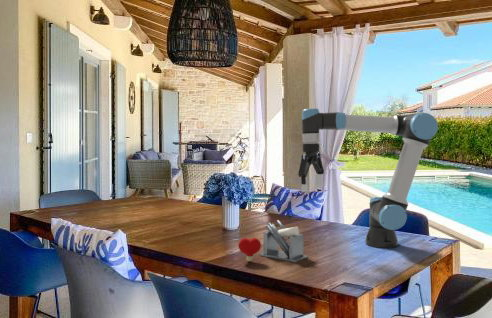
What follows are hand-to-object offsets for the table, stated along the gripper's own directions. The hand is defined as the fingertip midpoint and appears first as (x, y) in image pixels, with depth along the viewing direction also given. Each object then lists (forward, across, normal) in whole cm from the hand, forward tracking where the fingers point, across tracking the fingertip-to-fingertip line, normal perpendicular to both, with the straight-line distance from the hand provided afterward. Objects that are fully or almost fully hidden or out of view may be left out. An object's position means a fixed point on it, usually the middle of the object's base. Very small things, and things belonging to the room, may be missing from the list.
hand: (311, 189), depth 221 cm
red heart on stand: (+27, +33, -12) cm, 44 cm away
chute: (+27, +17, -5) cm, 33 cm away
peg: (+18, +17, -7) cm, 25 cm away
